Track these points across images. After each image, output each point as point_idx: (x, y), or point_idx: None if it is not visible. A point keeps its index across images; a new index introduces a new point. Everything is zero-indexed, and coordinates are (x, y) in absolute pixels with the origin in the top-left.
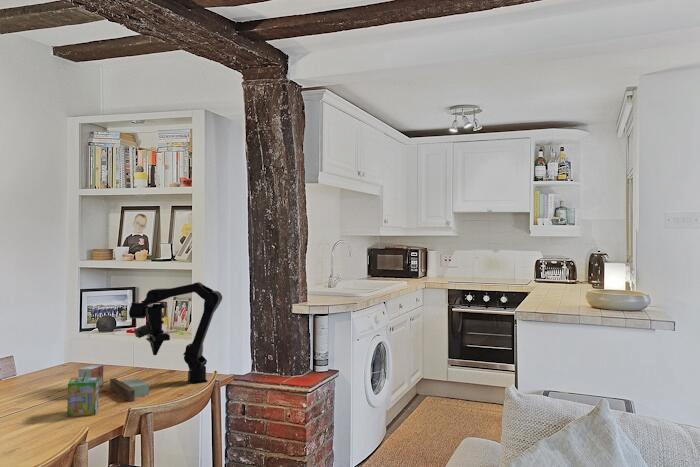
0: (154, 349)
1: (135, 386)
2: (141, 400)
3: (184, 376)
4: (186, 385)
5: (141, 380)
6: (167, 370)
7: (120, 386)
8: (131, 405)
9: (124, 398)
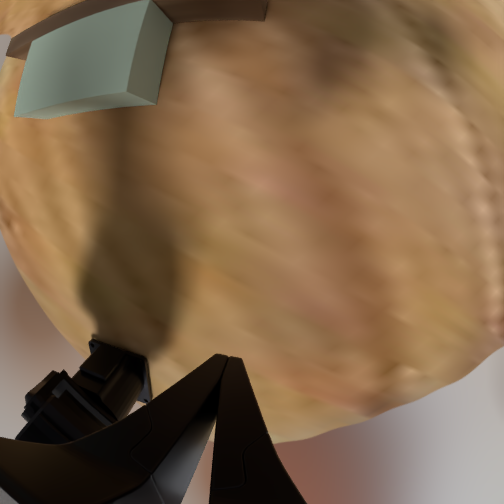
0: (162, 402)
1: (27, 59)
2: None
3: None
4: (85, 309)
5: (73, 98)
6: (408, 398)
7: (83, 3)
8: None
9: None
